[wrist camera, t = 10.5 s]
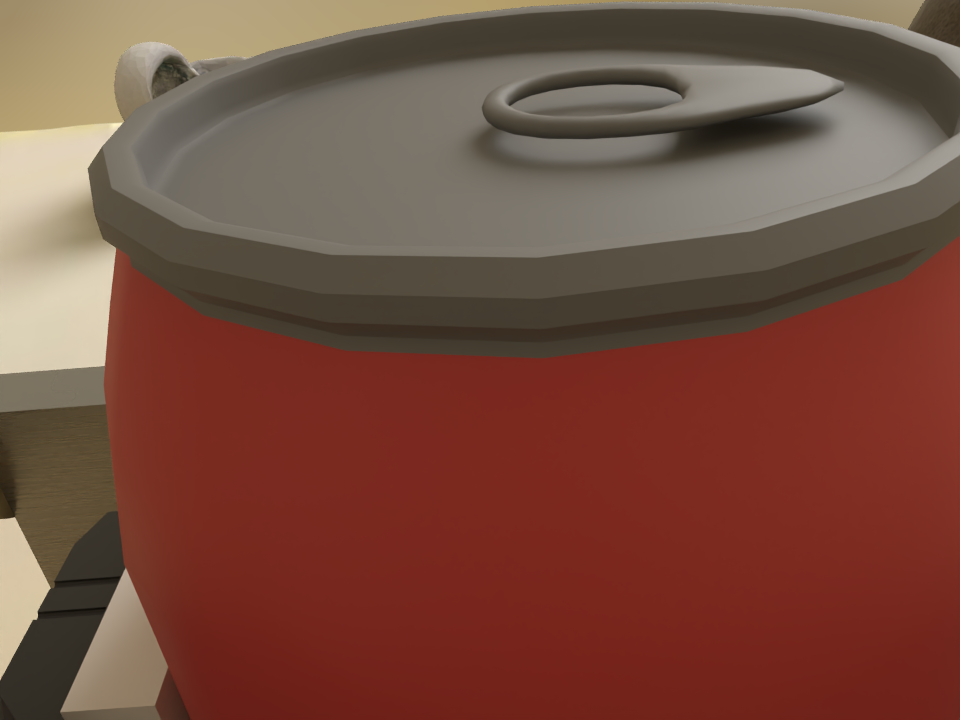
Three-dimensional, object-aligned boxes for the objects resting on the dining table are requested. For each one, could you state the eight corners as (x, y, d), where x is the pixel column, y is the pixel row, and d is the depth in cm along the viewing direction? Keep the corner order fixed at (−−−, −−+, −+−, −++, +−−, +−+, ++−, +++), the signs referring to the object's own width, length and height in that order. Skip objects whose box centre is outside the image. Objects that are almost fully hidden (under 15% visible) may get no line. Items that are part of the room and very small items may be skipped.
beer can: (908, 1315, 9) (1700, 285, 2) (288, 1286, 9) (-406, 385, 3) (759, 736, 14) (878, -33, 8) (377, 740, 15) (203, 21, 8)
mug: (314, 154, 59) (285, 1, 53) (277, 227, 48) (236, 45, 43) (179, 164, 59) (136, 13, 54) (112, 239, 48) (51, 59, 43)
